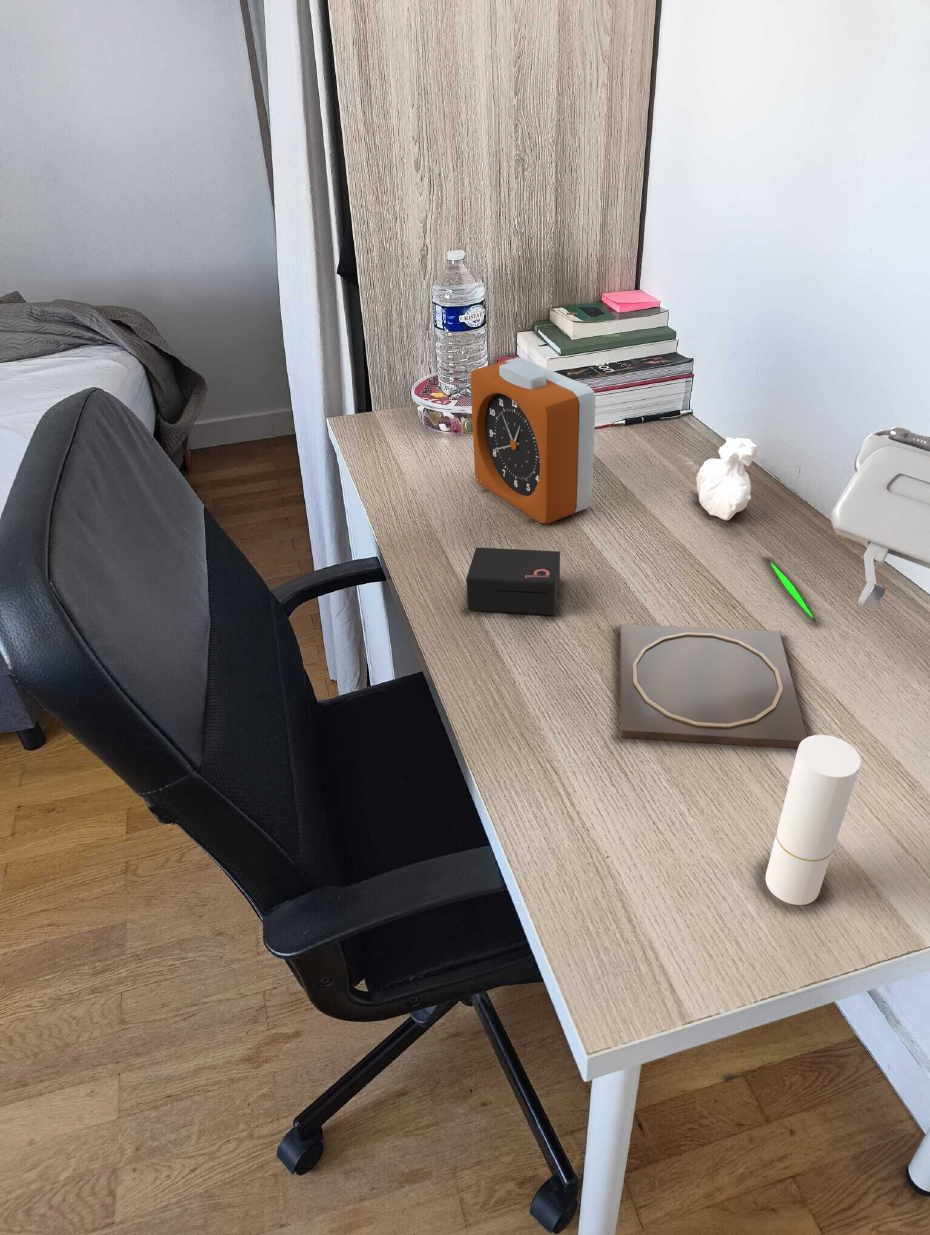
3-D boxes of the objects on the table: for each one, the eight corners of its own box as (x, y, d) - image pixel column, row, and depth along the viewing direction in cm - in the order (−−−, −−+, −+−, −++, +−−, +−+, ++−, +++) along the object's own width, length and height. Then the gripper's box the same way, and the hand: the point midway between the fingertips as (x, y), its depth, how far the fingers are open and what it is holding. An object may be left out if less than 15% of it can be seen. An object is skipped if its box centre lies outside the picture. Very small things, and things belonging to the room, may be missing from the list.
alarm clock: (473, 482, 132) (466, 352, 120) (518, 466, 136) (516, 339, 123) (545, 529, 119) (546, 389, 107) (593, 510, 123) (599, 372, 111)
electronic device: (477, 578, 110) (476, 546, 107) (559, 583, 108) (560, 550, 105) (468, 612, 104) (465, 578, 101) (554, 617, 102) (554, 583, 99)
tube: (826, 904, 68) (869, 776, 60) (773, 905, 69) (808, 777, 60) (810, 861, 72) (848, 734, 63) (759, 862, 72) (790, 735, 63)
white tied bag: (740, 540, 118) (797, 476, 114) (703, 516, 115) (761, 450, 110) (704, 500, 128) (756, 440, 123) (670, 478, 124) (721, 415, 120)
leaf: (771, 562, 110) (772, 556, 110) (819, 625, 99) (820, 619, 98) (764, 562, 110) (765, 557, 110) (811, 625, 99) (813, 620, 98)
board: (778, 637, 97) (780, 629, 96) (807, 749, 82) (809, 740, 82) (619, 630, 99) (620, 622, 99) (620, 737, 85) (621, 729, 84)
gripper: (874, 407, 64) (792, 573, 65) (1190, 502, 55) (1087, 691, 56) (874, 431, 69) (799, 583, 71) (1162, 520, 61) (1068, 692, 62)
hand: (929, 632), depth 64 cm, fingers open, 8 cm apart
